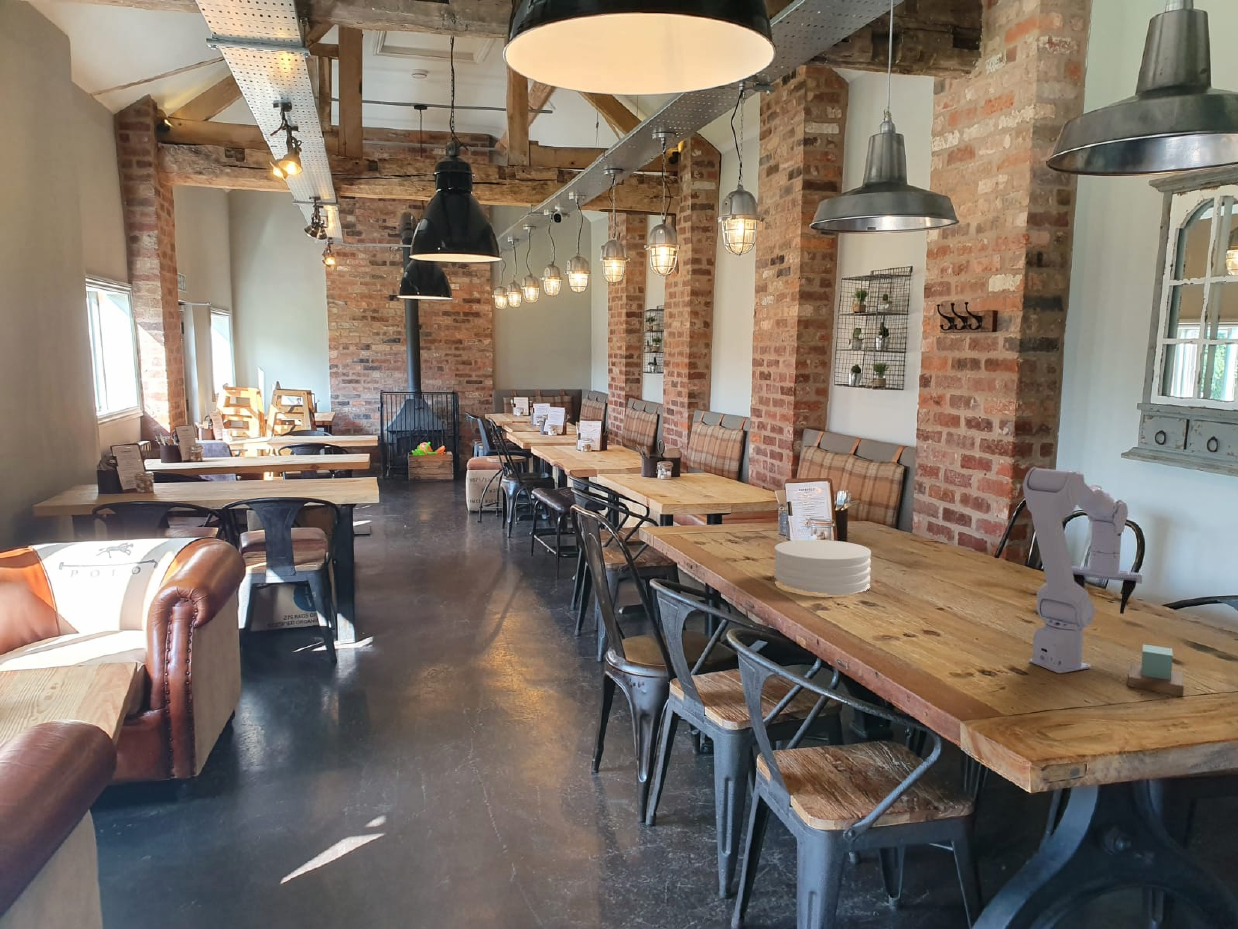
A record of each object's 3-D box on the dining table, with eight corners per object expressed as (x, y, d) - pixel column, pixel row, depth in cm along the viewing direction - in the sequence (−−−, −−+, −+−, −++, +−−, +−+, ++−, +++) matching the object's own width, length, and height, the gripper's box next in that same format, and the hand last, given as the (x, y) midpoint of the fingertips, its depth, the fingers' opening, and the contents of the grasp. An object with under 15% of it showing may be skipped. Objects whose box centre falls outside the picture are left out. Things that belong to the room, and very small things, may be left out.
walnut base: (1128, 686, 163) (1129, 676, 163) (1129, 673, 170) (1130, 663, 170) (1182, 695, 158) (1183, 686, 158) (1181, 681, 165) (1182, 672, 165)
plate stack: (834, 604, 224) (835, 563, 223) (755, 585, 245) (755, 548, 244) (888, 587, 243) (889, 549, 241) (810, 570, 264) (811, 536, 262)
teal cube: (1141, 675, 163) (1142, 651, 163) (1141, 667, 168) (1143, 644, 167) (1170, 680, 161) (1172, 655, 160) (1170, 672, 165) (1172, 648, 164)
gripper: (1143, 551, 181) (1140, 610, 183) (1070, 544, 189) (1067, 601, 191) (1143, 557, 176) (1139, 618, 177) (1067, 550, 184) (1064, 608, 185)
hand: (1101, 610), depth 184 cm, fingers open, 7 cm apart
